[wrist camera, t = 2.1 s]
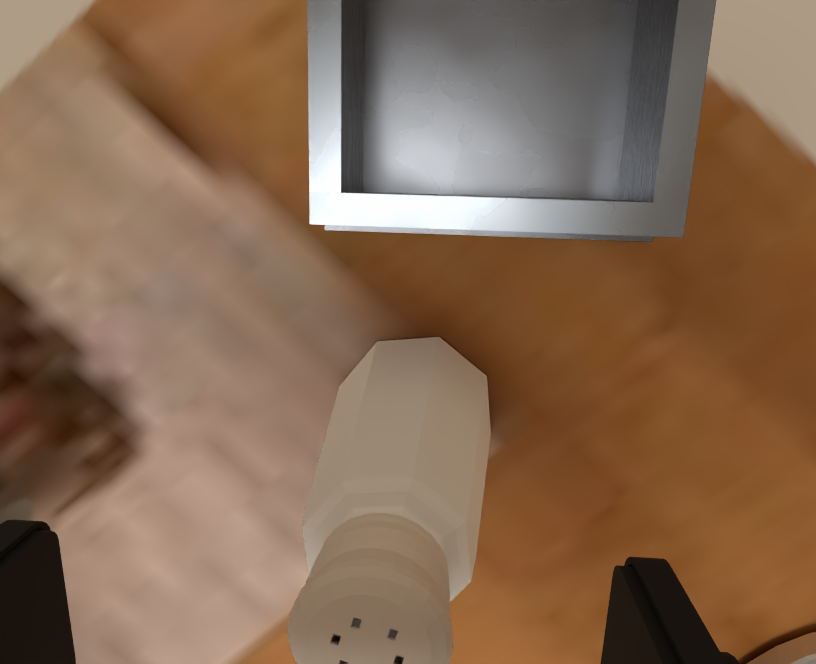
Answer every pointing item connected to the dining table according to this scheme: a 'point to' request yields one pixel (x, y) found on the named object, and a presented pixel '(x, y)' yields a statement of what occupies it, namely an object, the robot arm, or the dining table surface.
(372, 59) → the grey square tray
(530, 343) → the dining table surface
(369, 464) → the pepper shaker
